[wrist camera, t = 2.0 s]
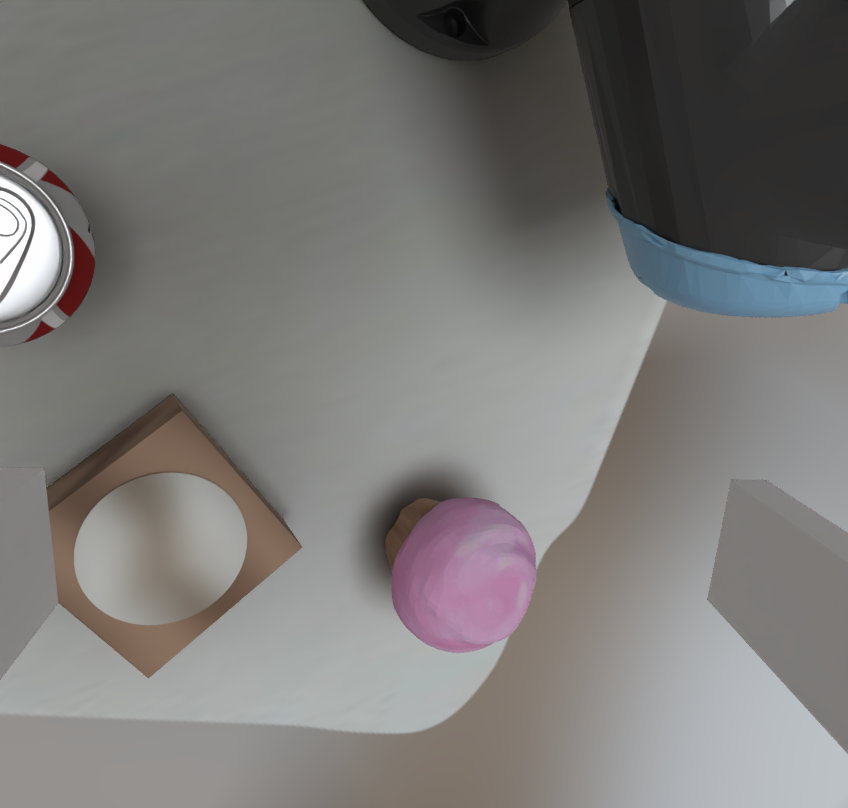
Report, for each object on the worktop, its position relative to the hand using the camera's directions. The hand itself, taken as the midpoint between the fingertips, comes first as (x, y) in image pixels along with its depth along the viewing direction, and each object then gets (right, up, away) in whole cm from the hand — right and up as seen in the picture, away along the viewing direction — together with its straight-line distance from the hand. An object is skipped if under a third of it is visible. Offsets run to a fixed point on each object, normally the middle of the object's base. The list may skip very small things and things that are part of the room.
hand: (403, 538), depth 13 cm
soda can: (-19, +10, +18) cm, 28 cm away
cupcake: (0, -6, +32) cm, 32 cm away
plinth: (-14, -4, +24) cm, 28 cm away
